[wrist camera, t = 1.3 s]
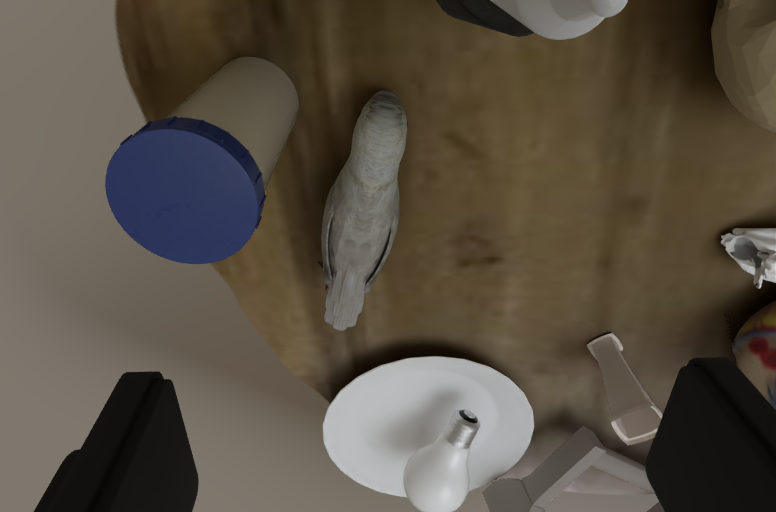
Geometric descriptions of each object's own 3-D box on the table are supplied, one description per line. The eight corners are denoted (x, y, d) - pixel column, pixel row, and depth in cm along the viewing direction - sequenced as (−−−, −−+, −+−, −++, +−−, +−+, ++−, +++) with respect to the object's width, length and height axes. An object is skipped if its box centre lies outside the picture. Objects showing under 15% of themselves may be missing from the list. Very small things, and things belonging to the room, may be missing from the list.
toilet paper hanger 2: (615, 323, 48) (576, 341, 50) (654, 403, 41) (607, 422, 42) (702, 455, 58) (668, 467, 59) (747, 539, 50) (707, 550, 52)
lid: (252, 112, 24) (244, 123, 22) (275, 246, 28) (269, 263, 26) (99, 118, 24) (81, 130, 23) (143, 250, 28) (130, 268, 26)
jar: (293, 54, 36) (240, 129, 23) (303, 142, 39) (263, 252, 26) (201, 58, 36) (97, 135, 23) (220, 145, 39) (138, 256, 26)
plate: (290, 373, 51) (286, 390, 49) (504, 315, 48) (509, 332, 46) (366, 495, 62) (365, 514, 60) (545, 455, 58) (551, 474, 56)
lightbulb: (450, 428, 45) (401, 526, 48) (513, 442, 47) (461, 536, 50) (430, 385, 51) (387, 475, 54) (486, 399, 53) (442, 485, 56)
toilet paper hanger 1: (599, 458, 48) (568, 410, 53) (502, 545, 52) (482, 492, 57) (727, 516, 57) (690, 470, 62) (636, 585, 61) (609, 537, 66)
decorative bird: (425, 95, 38) (433, 130, 31) (376, 279, 46) (375, 336, 40) (349, 77, 37) (341, 110, 31) (314, 267, 45) (302, 323, 39)
